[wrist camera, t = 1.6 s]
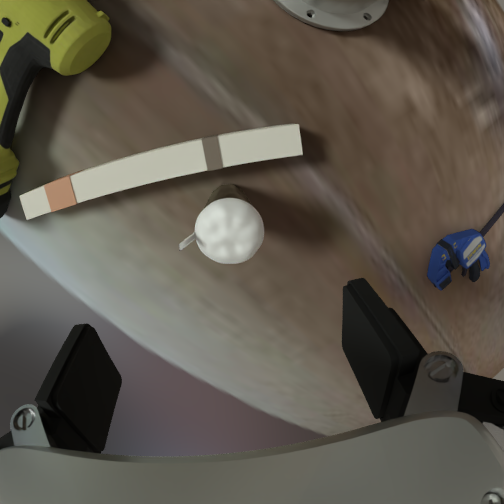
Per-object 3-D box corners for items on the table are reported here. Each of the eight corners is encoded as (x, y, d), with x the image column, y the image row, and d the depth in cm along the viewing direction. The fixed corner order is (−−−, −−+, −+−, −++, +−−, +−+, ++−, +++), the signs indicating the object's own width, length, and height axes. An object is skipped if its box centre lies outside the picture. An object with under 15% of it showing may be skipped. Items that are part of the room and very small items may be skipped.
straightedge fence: (290, 123, 25) (298, 123, 22) (294, 151, 26) (303, 155, 23) (34, 187, 24) (18, 195, 21) (41, 211, 25) (26, 220, 23)
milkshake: (191, 179, 26) (173, 211, 17) (252, 174, 26) (267, 204, 17) (196, 227, 28) (184, 280, 19) (253, 223, 28) (268, 274, 19)
